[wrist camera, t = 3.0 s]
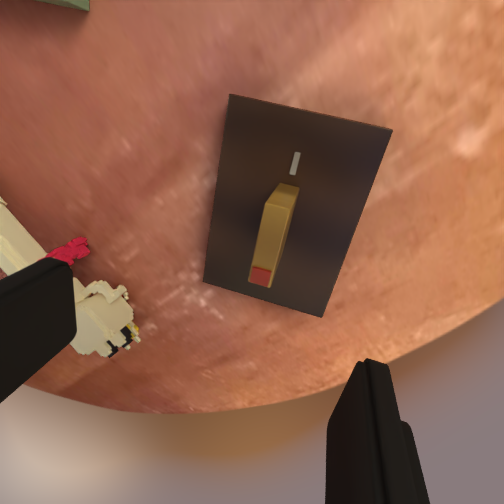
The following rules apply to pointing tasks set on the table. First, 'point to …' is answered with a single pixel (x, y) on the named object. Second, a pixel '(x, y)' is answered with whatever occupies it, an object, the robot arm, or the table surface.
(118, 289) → the blocky toy figure
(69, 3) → the green button base
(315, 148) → the lock plate
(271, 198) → the lock knob
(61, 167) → the table surface
